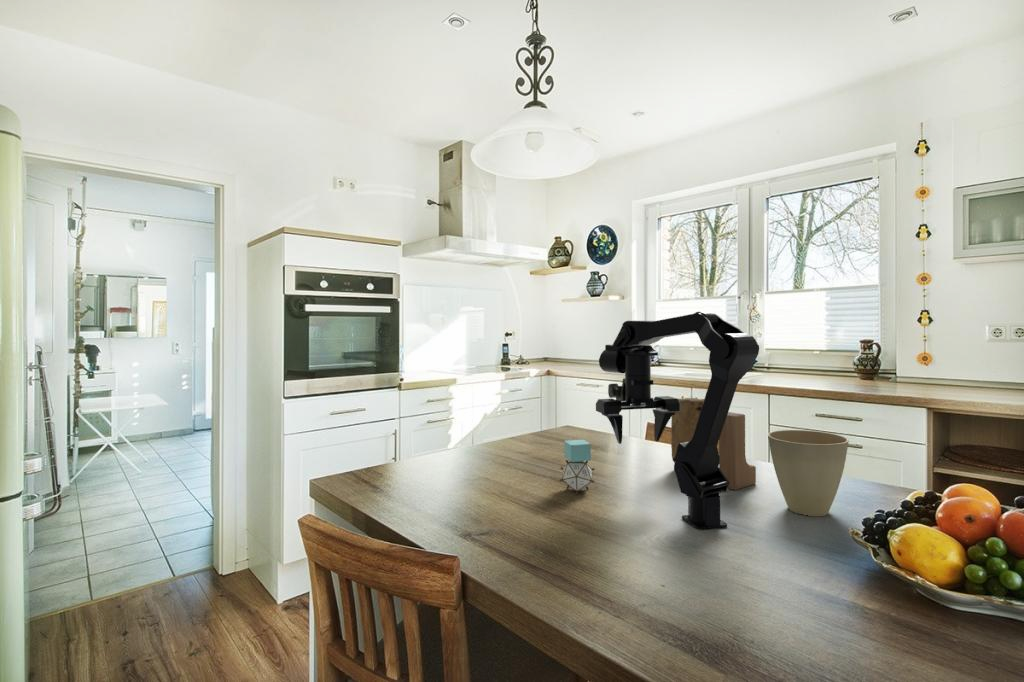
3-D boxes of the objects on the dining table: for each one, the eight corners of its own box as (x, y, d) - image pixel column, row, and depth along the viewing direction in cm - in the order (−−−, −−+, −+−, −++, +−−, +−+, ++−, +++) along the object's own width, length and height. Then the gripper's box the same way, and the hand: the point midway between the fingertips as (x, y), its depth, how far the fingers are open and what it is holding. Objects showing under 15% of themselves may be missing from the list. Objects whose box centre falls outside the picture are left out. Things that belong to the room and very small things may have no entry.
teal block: (590, 460, 122) (590, 443, 122) (570, 461, 121) (570, 445, 121) (583, 455, 127) (583, 439, 127) (564, 456, 126) (564, 440, 126)
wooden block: (739, 479, 132) (739, 410, 131) (756, 484, 128) (756, 412, 127) (718, 486, 127) (718, 413, 126) (735, 490, 123) (734, 416, 122)
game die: (574, 503, 126) (575, 464, 132) (602, 497, 121) (602, 457, 127) (550, 492, 121) (552, 452, 127) (579, 486, 116) (580, 445, 122)
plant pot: (804, 495, 119) (804, 427, 118) (866, 518, 104) (866, 440, 104) (752, 503, 114) (752, 432, 114) (809, 527, 100) (809, 446, 99)
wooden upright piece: (668, 470, 141) (668, 398, 141) (684, 465, 146) (684, 395, 145) (704, 479, 132) (703, 402, 132) (720, 473, 137) (719, 399, 137)
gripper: (658, 370, 128) (658, 433, 128) (587, 373, 124) (587, 437, 124) (681, 374, 117) (682, 442, 117) (604, 377, 113) (605, 447, 113)
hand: (638, 442), depth 118 cm, fingers open, 9 cm apart
